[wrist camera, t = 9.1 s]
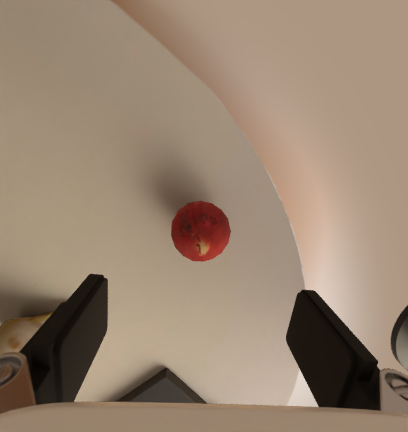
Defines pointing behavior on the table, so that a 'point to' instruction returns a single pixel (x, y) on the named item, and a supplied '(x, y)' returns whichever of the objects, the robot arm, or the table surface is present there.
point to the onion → (200, 231)
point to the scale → (163, 390)
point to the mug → (19, 332)
